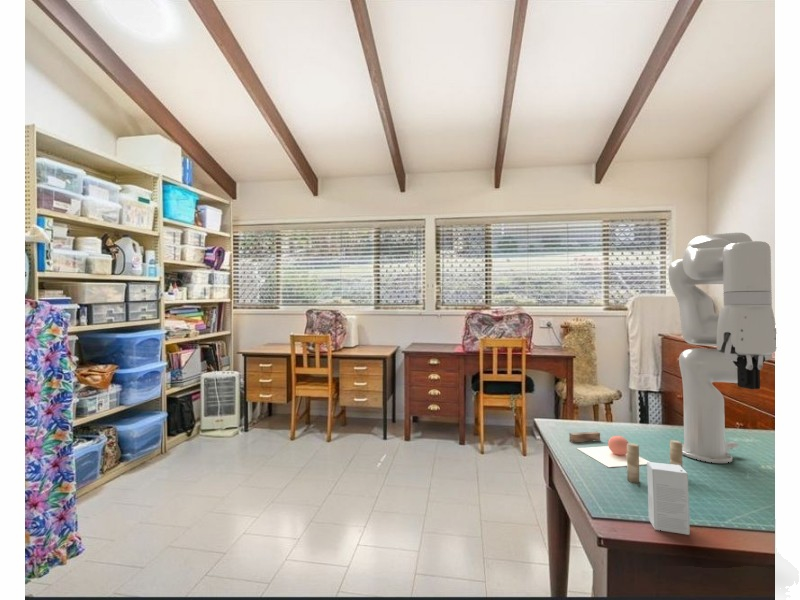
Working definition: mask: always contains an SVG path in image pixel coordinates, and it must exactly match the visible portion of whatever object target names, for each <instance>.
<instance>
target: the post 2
mask: <svg viewBox="0 0 800 600" xmlns="http://www.w3.org/2000/svg"><path fill="white" fill-rule="evenodd" d="M682 444H683V443H682V441H679V440H674V439H671V440H669V464H673V465H680V466H681V467H682V468H683V469H684V467H683V454H682Z"/></svg>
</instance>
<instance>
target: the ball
mask: <svg viewBox="0 0 800 600" xmlns="http://www.w3.org/2000/svg"><path fill="white" fill-rule="evenodd" d="M607 443H608V444H607V446H609V449H610V450H611V451H612V452H613V453H614V454H616V455H625V454H627V444H628V443H629V442H628V440H627V439H626V438H625V437H623V436H621V435H613V436H612V437H610V438H609V440H608V442H607Z"/></svg>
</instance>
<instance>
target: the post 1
mask: <svg viewBox="0 0 800 600" xmlns="http://www.w3.org/2000/svg"><path fill="white" fill-rule="evenodd" d="M639 457H640V446H639V445H638V444H636V443H632V442H628V444H627V466H626V470H627V472H626V473H627V474H626V476H627V477H626V478H627V479H626V480H627V481H628V482H630V483H633V484H639V483H640V465H639Z"/></svg>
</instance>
